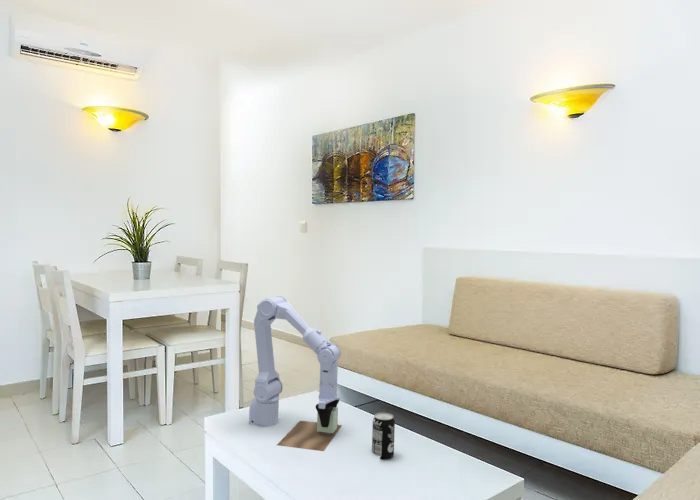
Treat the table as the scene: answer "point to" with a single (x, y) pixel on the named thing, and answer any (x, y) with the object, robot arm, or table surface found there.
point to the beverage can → (383, 435)
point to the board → (307, 437)
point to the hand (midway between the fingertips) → (327, 423)
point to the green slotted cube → (332, 422)
